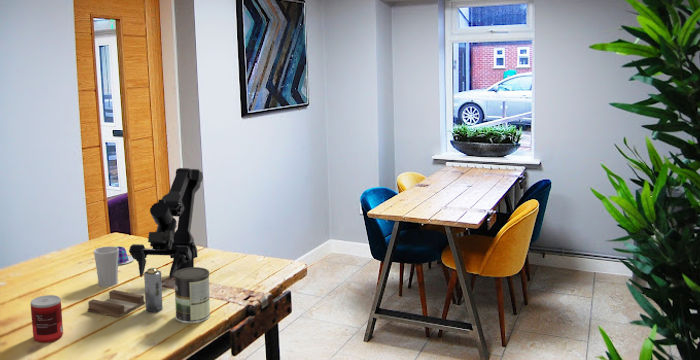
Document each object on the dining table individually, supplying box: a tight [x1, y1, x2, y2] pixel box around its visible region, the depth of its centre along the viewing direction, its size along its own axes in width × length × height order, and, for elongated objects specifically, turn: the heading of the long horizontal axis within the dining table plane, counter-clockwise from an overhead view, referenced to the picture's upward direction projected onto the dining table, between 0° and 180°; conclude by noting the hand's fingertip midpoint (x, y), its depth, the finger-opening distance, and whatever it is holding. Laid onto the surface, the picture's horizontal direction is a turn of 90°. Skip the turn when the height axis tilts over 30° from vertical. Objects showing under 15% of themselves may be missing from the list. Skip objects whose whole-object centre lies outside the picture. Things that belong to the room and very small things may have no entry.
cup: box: [93, 246, 119, 288], centre depth 227 cm, size 8×8×12 cm
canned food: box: [30, 294, 64, 344], centre depth 185 cm, size 8×8×11 cm
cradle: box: [87, 289, 146, 318], centre depth 208 cm, size 12×12×3 cm
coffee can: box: [173, 266, 211, 324], centre depth 201 cm, size 10×10×14 cm
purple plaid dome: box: [116, 246, 135, 266], centre depth 252 cm, size 12×12×5 cm
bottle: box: [143, 267, 164, 314], centre depth 206 cm, size 5×5×13 cm
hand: (155, 276), depth 208 cm, fingers open, 9 cm apart
